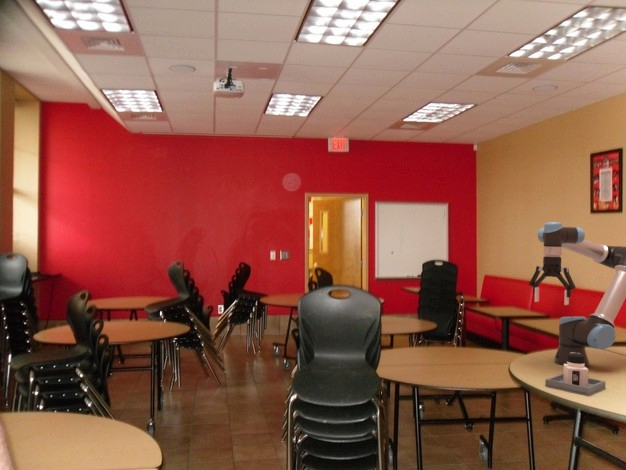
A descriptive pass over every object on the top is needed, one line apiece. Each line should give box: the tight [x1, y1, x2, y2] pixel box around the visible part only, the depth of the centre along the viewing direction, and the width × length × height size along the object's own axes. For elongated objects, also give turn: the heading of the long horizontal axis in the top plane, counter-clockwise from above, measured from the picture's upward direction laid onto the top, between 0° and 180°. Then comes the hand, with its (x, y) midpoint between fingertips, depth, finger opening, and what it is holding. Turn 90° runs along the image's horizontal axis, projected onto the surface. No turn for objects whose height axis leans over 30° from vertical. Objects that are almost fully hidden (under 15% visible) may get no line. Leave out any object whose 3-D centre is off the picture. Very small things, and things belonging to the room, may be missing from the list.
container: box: [562, 353, 589, 387], centre depth 226 cm, size 8×8×13 cm
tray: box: [544, 372, 606, 397], centre depth 226 cm, size 17×17×3 cm
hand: (551, 303), depth 250 cm, fingers open, 13 cm apart
